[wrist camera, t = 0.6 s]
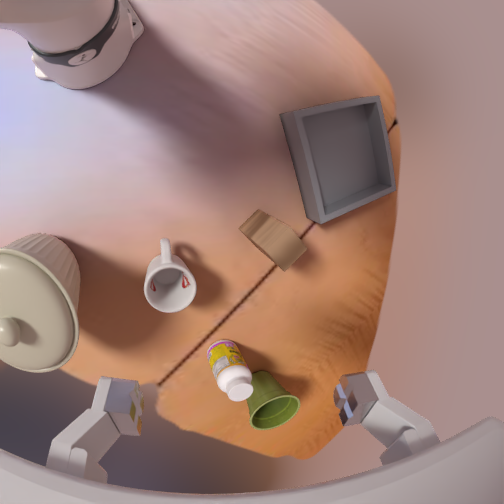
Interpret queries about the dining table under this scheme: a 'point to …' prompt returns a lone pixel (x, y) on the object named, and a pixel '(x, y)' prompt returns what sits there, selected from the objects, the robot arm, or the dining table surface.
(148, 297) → the cup
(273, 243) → the walnut block
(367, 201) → the bin
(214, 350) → the supplement bottle
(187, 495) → the robot arm
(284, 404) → the plant pot
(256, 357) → the dining table surface
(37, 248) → the canister
